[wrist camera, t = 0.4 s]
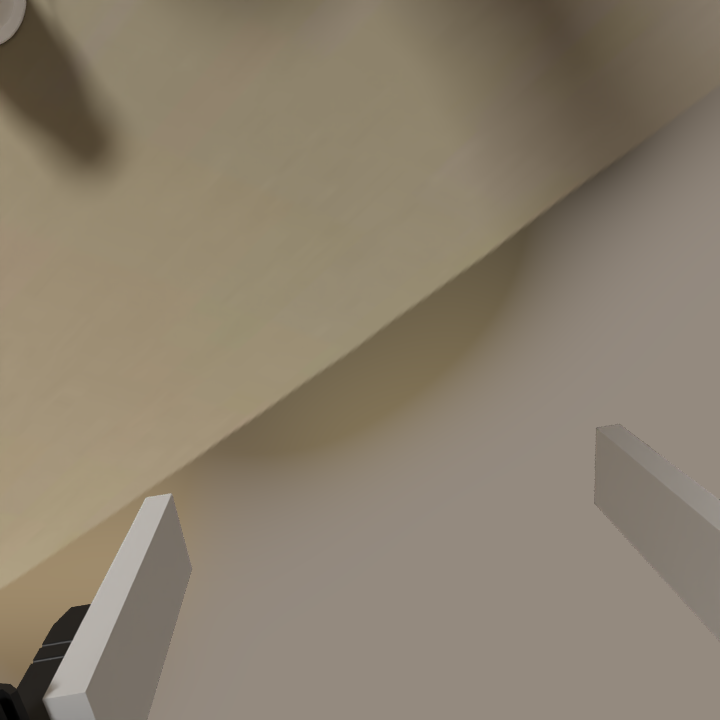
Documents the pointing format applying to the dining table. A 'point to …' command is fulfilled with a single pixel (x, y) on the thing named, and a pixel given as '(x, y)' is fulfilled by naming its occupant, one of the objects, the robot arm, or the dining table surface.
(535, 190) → the dining table surface
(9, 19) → the downlight
